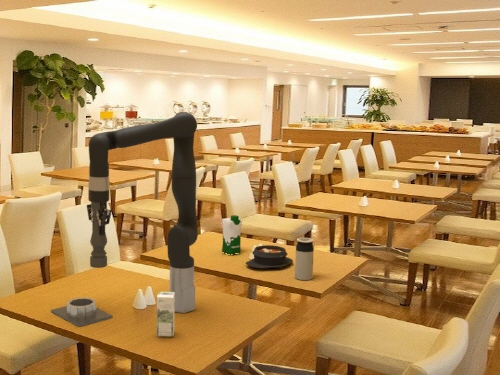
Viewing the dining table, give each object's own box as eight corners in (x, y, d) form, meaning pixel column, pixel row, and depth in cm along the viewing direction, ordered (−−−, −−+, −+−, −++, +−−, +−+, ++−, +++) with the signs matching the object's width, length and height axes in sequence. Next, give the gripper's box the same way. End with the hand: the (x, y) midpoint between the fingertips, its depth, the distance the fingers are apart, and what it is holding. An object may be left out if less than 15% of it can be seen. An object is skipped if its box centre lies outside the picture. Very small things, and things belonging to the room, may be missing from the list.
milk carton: (229, 256, 321) (230, 217, 318) (219, 252, 328) (219, 214, 325) (243, 254, 327) (244, 215, 323) (232, 250, 333) (233, 213, 330)
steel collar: (112, 317, 233) (112, 305, 233) (78, 327, 224) (78, 314, 223) (84, 303, 247) (83, 291, 246) (50, 311, 237) (50, 299, 237)
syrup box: (174, 330, 223) (175, 291, 220) (173, 337, 217) (173, 296, 214) (158, 330, 222) (158, 290, 220) (156, 337, 217) (156, 296, 214)
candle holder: (90, 268, 234) (90, 201, 230) (90, 263, 240) (90, 198, 236) (107, 267, 236) (107, 201, 231) (106, 262, 241) (107, 198, 237)
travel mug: (292, 279, 286) (294, 240, 283) (297, 274, 293) (298, 236, 291) (310, 281, 283) (311, 242, 281) (314, 276, 291) (315, 238, 288)
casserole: (262, 274, 292) (263, 257, 291) (237, 265, 306) (237, 248, 305) (301, 266, 308) (302, 249, 307) (275, 257, 322) (276, 241, 321)
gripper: (118, 190, 230) (117, 236, 233) (97, 184, 240) (97, 228, 243) (100, 192, 225) (99, 239, 228) (79, 186, 235) (79, 231, 238)
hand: (98, 233), depth 236 cm, fingers closed on candle holder, 4 cm apart
